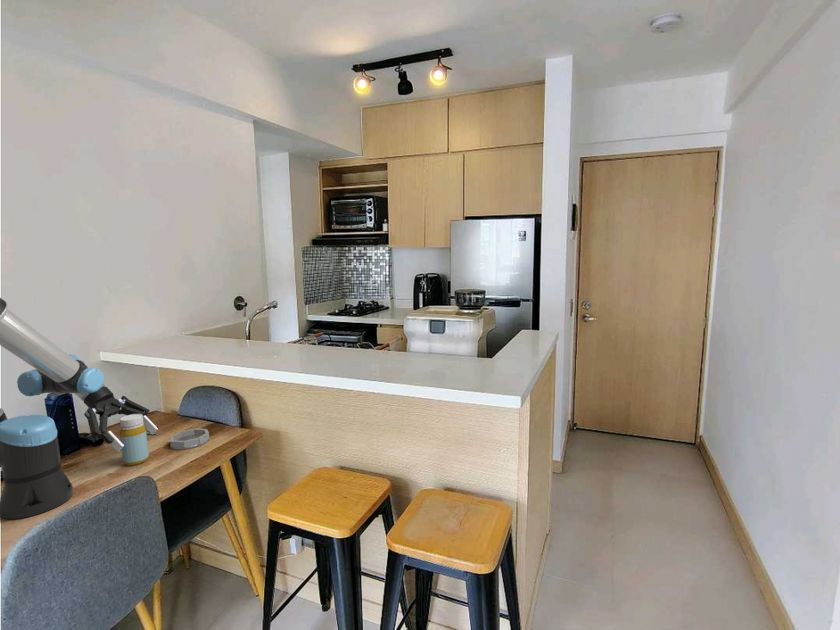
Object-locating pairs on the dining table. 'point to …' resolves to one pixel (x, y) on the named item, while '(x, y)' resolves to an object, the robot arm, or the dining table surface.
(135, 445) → the bottle
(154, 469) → the dining table surface
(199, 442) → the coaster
